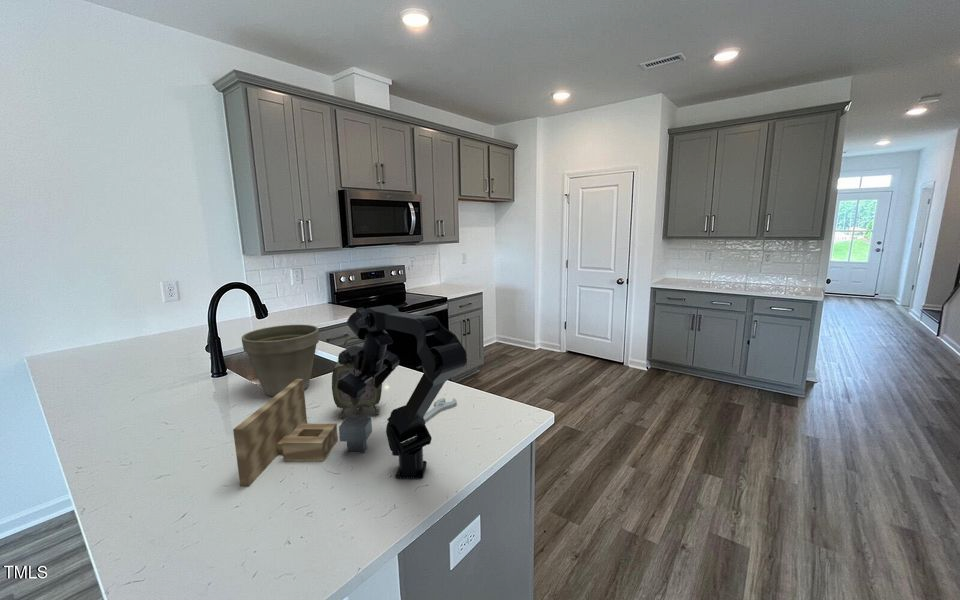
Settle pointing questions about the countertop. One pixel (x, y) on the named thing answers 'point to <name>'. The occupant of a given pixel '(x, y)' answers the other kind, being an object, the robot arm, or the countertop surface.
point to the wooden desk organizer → (280, 434)
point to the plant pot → (281, 355)
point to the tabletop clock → (343, 399)
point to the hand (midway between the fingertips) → (365, 395)
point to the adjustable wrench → (439, 408)
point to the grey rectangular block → (355, 433)
